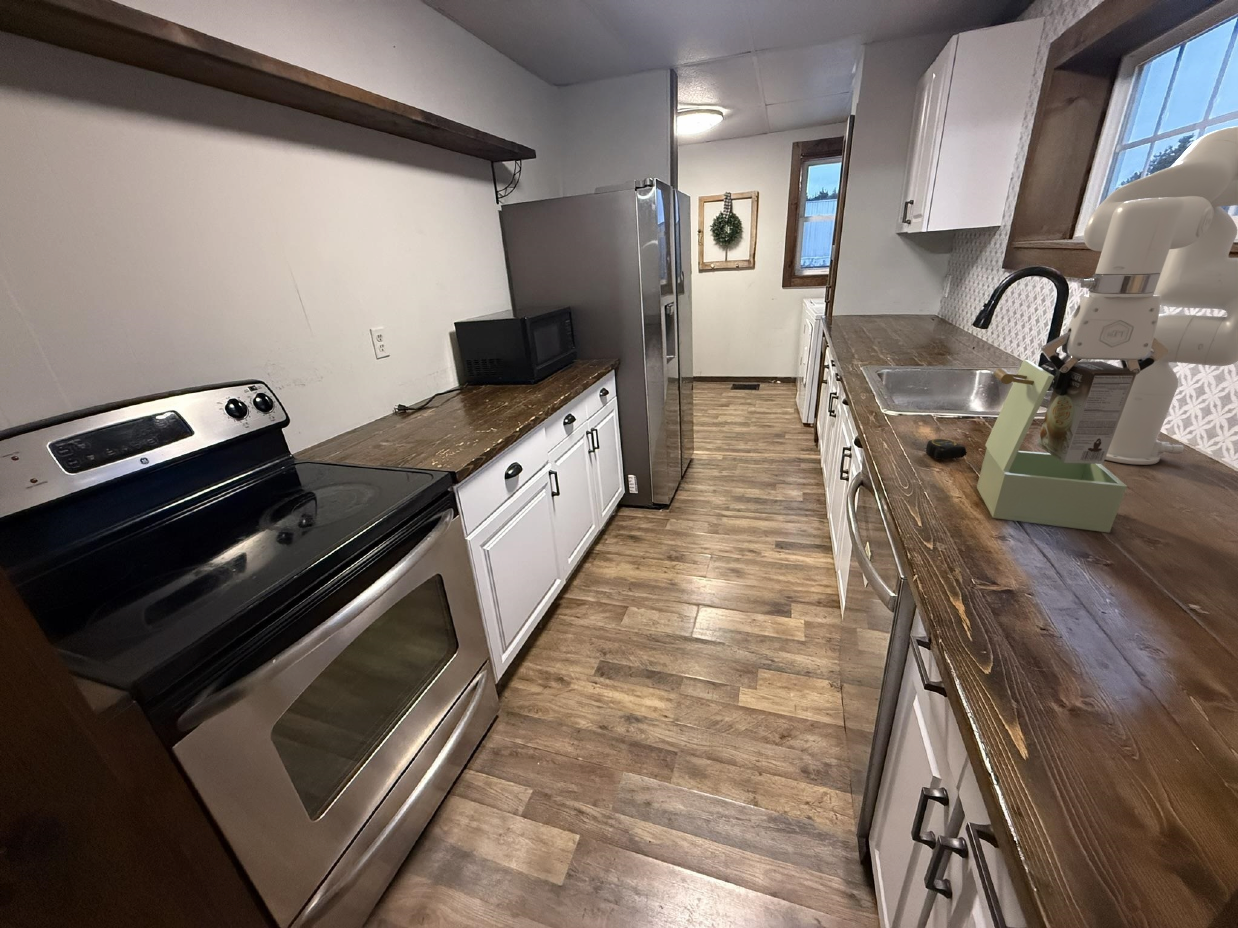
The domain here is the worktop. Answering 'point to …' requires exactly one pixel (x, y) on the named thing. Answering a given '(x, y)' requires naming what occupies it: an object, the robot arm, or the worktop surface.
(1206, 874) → the worktop surface
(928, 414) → the worktop surface
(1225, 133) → the robot arm
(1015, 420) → the lid
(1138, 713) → the worktop surface
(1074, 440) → the coffee box
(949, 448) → the tape measure
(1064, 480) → the chest
